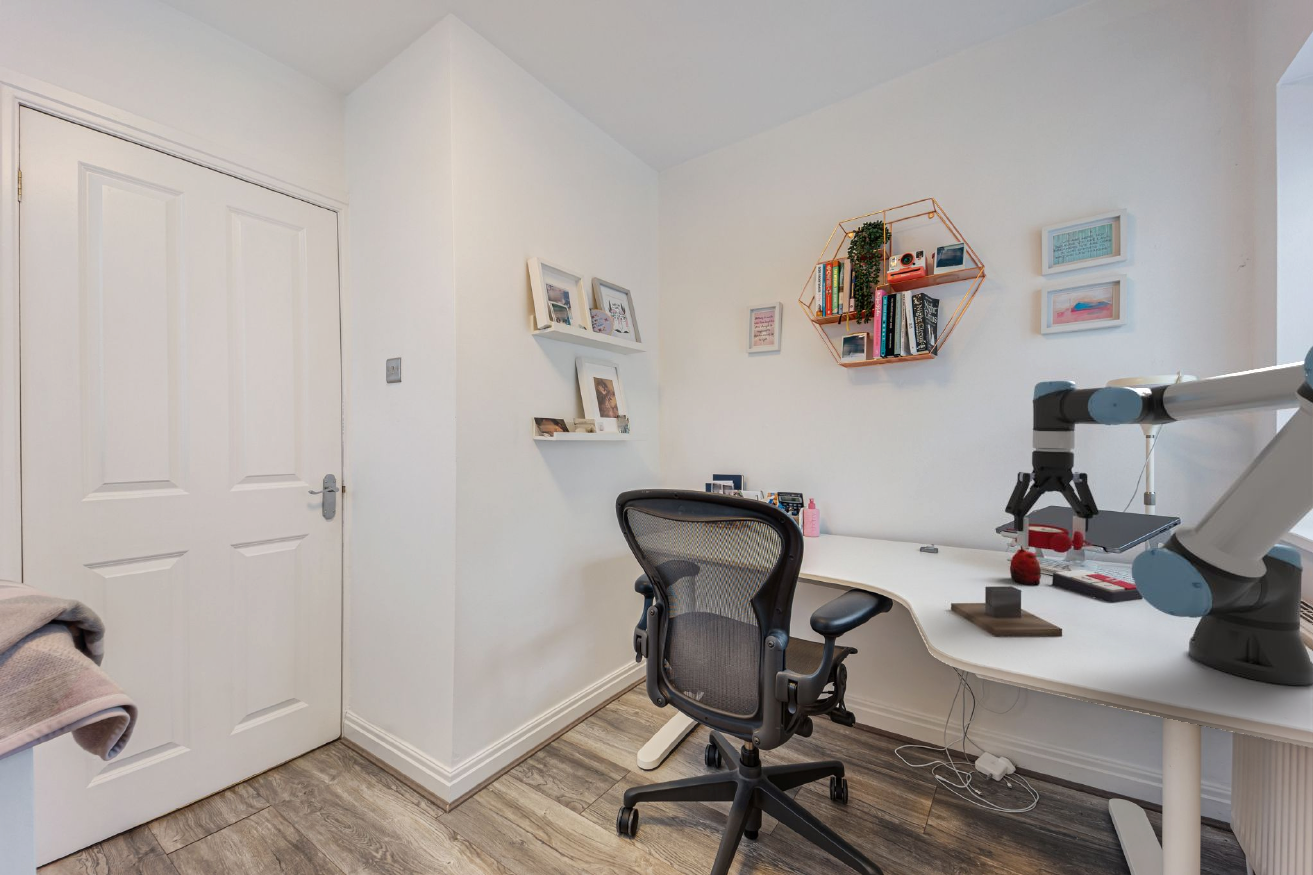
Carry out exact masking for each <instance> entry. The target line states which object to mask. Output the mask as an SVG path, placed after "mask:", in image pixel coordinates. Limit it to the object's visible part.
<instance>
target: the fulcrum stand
mask: <svg viewBox="0 0 1313 875" xmlns="http://www.w3.org/2000/svg"><path fill="white" fill-rule="evenodd" d="M984 590H985V592H984V593H985V597H984V602H965V603H964V602H957V603H956V602H954V603H953V602H952V603H950V610H951V611H953V613H956V614H958V615H959V616H961V617H962V618H964V619H966V620H968V621H969V622H971V623H972V624H974V625H975V626H977V627H979V628H981V629H982V630H984V631H985V632H987V633H989V634H991V635H992V636H994V637H995V638H997V637H999V638H1000V637H1001V636H1004V637H1005V638H1006V637H1008V636H1010V637H1063V628H1061V627H1059V626H1057V625H1055V624H1053V623H1051V622H1049V621H1048V620H1045V619H1043V618H1041V617H1040V616H1037V615H1035V614H1033V613H1031V612H1029V611H1026V610H1025V609H1022V590H1021V589H1018V588H1017V587H1014V586H1012V585H1011V586H1007V585H1006V586H1005V585H1004V586H1003V585H1002V586H996V585H995V586H985V588H984ZM1004 637H1003V638H1004Z"/></svg>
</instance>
